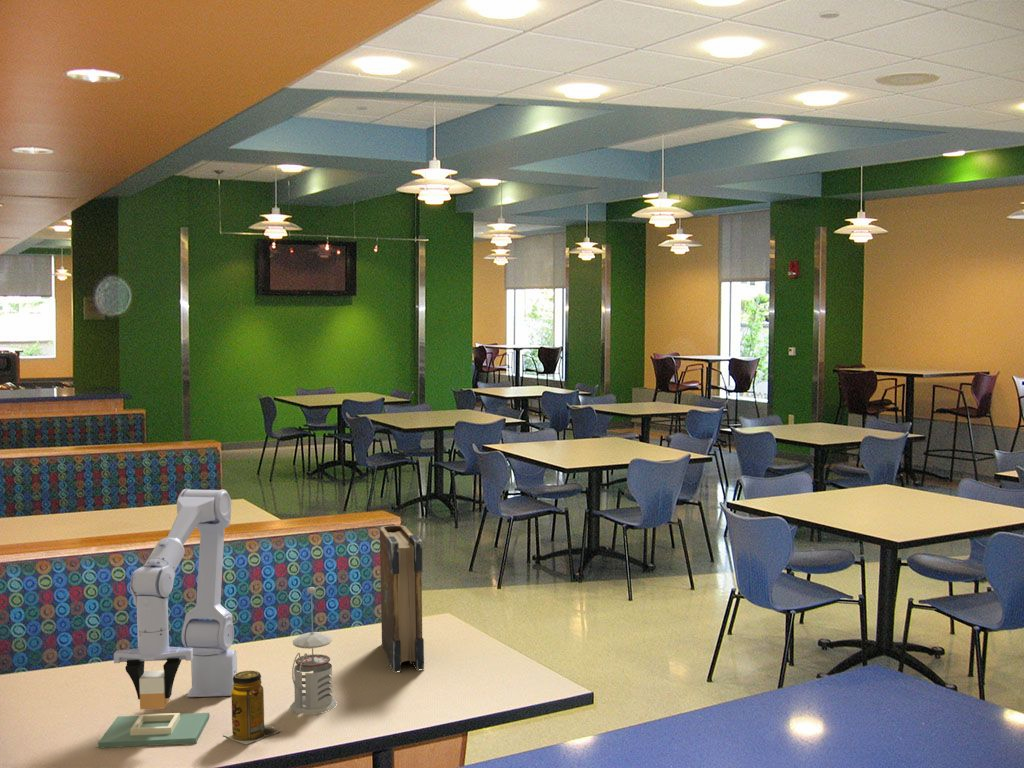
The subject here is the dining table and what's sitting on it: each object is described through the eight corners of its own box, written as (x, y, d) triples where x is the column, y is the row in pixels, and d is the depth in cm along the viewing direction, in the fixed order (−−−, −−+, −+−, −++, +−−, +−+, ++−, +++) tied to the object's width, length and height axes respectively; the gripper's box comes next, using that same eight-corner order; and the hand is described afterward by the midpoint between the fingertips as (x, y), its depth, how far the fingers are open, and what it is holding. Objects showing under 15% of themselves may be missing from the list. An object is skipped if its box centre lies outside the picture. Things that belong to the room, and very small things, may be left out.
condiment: (223, 736, 199) (221, 675, 198) (259, 722, 205) (258, 663, 205) (245, 745, 194) (244, 683, 193) (282, 732, 201) (280, 671, 200)
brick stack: (169, 700, 203) (168, 670, 203) (164, 708, 198) (163, 677, 198) (146, 701, 202) (145, 671, 202) (140, 709, 198) (139, 678, 198)
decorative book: (424, 670, 236) (422, 540, 234) (393, 673, 234) (391, 542, 232) (406, 640, 258) (405, 522, 257) (378, 642, 256) (376, 523, 255)
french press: (346, 699, 217) (344, 583, 216) (318, 719, 206) (316, 596, 205) (305, 694, 221) (302, 579, 219) (275, 714, 210) (273, 593, 208)
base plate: (209, 717, 208) (209, 706, 208) (196, 743, 195) (195, 731, 195) (117, 721, 206) (117, 710, 206) (98, 747, 194) (97, 736, 193)
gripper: (108, 635, 195) (110, 706, 196) (186, 633, 196) (188, 703, 197) (118, 625, 202) (120, 693, 203) (194, 622, 203) (196, 690, 204)
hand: (154, 697), depth 200 cm, fingers closed on brick stack, 4 cm apart
